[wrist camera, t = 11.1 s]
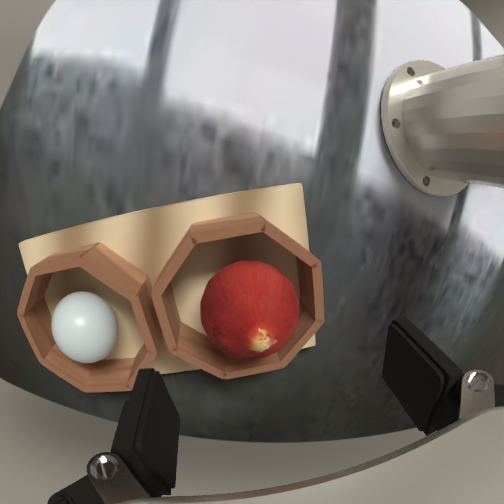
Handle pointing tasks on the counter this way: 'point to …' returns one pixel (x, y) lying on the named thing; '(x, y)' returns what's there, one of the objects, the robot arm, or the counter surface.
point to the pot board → (157, 246)
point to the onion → (249, 310)
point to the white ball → (84, 327)
